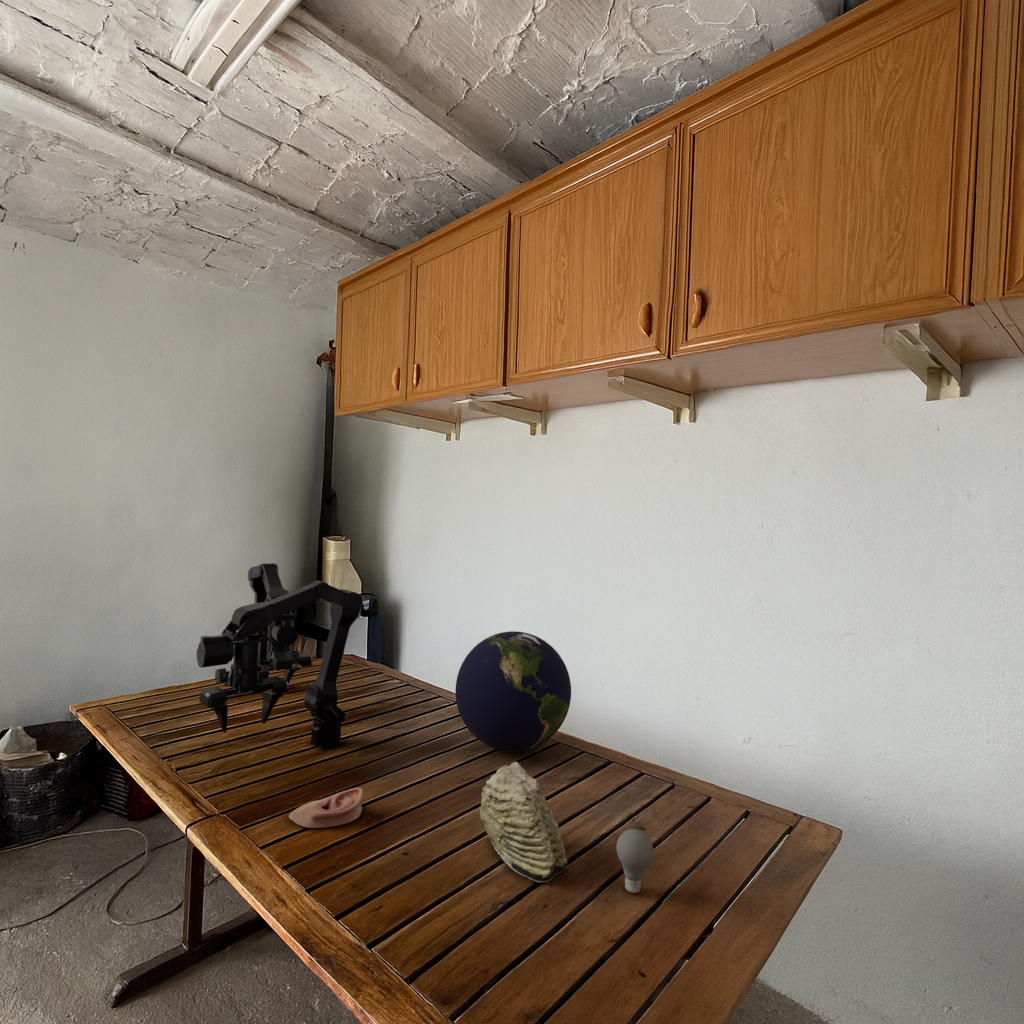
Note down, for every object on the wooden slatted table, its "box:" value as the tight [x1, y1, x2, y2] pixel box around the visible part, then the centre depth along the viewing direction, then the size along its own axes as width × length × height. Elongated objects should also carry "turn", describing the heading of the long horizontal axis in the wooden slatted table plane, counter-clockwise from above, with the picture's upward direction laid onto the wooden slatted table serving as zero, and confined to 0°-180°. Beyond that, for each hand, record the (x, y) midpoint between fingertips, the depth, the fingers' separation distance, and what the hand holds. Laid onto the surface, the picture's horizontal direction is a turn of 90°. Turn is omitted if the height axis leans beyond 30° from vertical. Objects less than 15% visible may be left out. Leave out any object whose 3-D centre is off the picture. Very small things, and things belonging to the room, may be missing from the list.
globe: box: [454, 630, 572, 753], centre depth 164 cm, size 30×30×30 cm
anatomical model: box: [288, 787, 364, 829], centre depth 126 cm, size 13×4×12 cm
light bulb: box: [615, 828, 654, 894], centre depth 106 cm, size 6×6×10 cm
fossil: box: [479, 761, 569, 883], centre depth 114 cm, size 9×18×15 cm, turn 46°
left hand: (276, 692), depth 182 cm, fingers closed on canister, 4 cm apart
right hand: (244, 727), depth 148 cm, fingers open, 9 cm apart
